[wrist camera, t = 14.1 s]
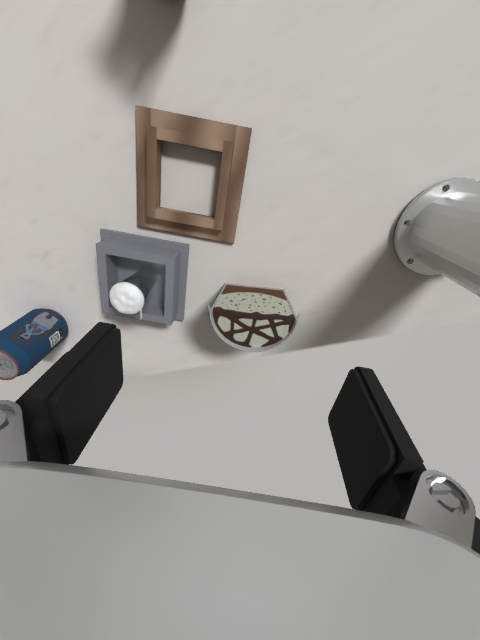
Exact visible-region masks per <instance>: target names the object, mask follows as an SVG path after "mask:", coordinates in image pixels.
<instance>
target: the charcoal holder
mask: <svg viewBox="0 0 480 640" xmlns="http://www.w3.org/2000/svg"><path fill="white" fill-rule="evenodd" d="M100 233H101V242H98V243H96V252H97V262H98V273H99V284H100V295H101V306H102V313H106V314H111V315H117V316H123V317H129V318H134V319H140V311H139V312H137V313H135V314H124V313H121V312H119V311H118V310H117V309H116V308H114V307H113V305H112V304H111V302H110V290H111V288H112V287H113V286H114V285H115V284H117V283H118V282H120V281H122V280H124V279H126V278H128V277H129V276H131V275H132V274H134V273H136V272H137V271H139V270H140V269H142V268H144V267H145V268H151V269H152V270H153V271H155V272H156V274H157V277H158V280H157V284H156V286H155V287H154V289H153V290H152V292H151V294H150V295H149V297H148V298H147V300H146V302H145V304H144V306H143V308H142V319H141V320H146V321H152V322H157V323H163V324H169V325H172V323H173V321H174V319H175V320H181V321H183V319H184V308H185V295H186V282H187V269H188V256H189V244H184V243H178V242H173V241H167V240H162V239H157V238H151V237H146V236H140V235H135V234H129V233H124V232H118V231H113V230H108V229H100Z"/></svg>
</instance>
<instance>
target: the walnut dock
mask: <svg viewBox="0 0 480 640" xmlns="http://www.w3.org/2000/svg"><path fill="white" fill-rule="evenodd" d="M251 130H252V128H247V127H242V126H237V125H232V124H227V123H222V122H217V121H212V120H207V119H202V118H197V117H192V116H187V115H182V114H177V113H172V112H167V111H162V110H157V109H152V108H147V107H142V106H137V105H136V154H137V218H138V226H142V227H147V228H152V229H158V230H163V231H169V232H174V233H179V234H185V235H190V236H196V237H201V238H206V239H212V240H217V241H223V242H228V243H234V239H235V232H236V226H237V219H238V213H239V207H240V200H241V194H242V187H243V181H244V175H245V168H246V162H247V156H248V149H249V143H250V136H251ZM162 140H163V141H168V142H173V143H178V144H183V145H188V146H194V147H199V148H204V149H209V150H214V151H219V152H222V159H221V167H220V176H219V185H218V193H217V202H216V210H215V217H210V216H205V215H200V214H194V213H189V212H184V211H178V210H173V209H168V208H162V207H160V192H161V148H162Z"/></svg>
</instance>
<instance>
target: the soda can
mask: <svg viewBox="0 0 480 640" xmlns="http://www.w3.org/2000/svg"><path fill="white" fill-rule="evenodd" d="M67 329H68V326H67V322H66V320H65V319H64V317H63V316H62V315H60V314H59V313H58V312H56V311H54V310H51V309H34V310H32V311H30V312H29V313H27V314H26V315H24V316H23V317H21V318H20V319H18V320H17V321H15V322H13V323H12V324H10V325H9V326H7V327H6V328H4V329H3V330H1V331H0V379H1V380H11V379H14V378H15V377H17V376H20V375H23V374H26V373H27V372H28V371H30V370H31V369H32V368H33V367H34V366H35V365H36V364H37V363H38V362H40V361H41V360H42V359H43V358H44V357H45V356H46V355H47V354H48V353H50V352H51V351H52V350H53V349H54V348H55V347H56V346H57V345H58V344H60V343H61V342H62V341H63V340H64V339H65V338H66V336H67Z"/></svg>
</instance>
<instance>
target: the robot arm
mask: <svg viewBox="0 0 480 640" xmlns="http://www.w3.org/2000/svg"><path fill="white" fill-rule="evenodd" d="M443 186H444V188H443ZM442 188H443V189H442ZM405 221H406V223H405V224H404V222H405ZM394 245H395V251H396V254H397V256H398V258H399V259H400V261H401V262H402V263H403V264H404V265H405V266H406V267H407V268H409V269H411V270H412V271H414V272H417V273H419V274H424V275H439V274H442V275H444V276H446V277H447V278H449V279H451V280H452V281H454V282H456V283H457V284H459V285H461V286H462V287H464V288H466V289H467V290H469V291H471V292H472V293H474V294H476V295H477V296H479V297H480V181H478V180H475V179H469V178H454V179H449V180H444V181H442V182H439V183H437V184H434V185H433V186H431V187H429V188H427V189H426V190H424V191H423V192H422V193H420V194H419V195H418V196H417V197H415V198H414V200H413V201H412V202H411V203H410V204H409V205H408V206H407V208H406V209H405V211H404V212H403V213H402V215H401V217H400V219H399V221H398V223H397V227H396V230H395V236H394ZM408 259H409V260H408ZM407 260H408V261H407ZM122 384H123V367H122V349H121V332H120V329H117V328H116V325H114V324H109V323H104V322H99V323H97V324H96V325H95V326H94V327H93V328H92V329H91V330H90V331H89V332H88V333H87V334H86V335H85V336H84V337H83V338H82V339H81V340H80V341H79V342H78V343H77V344H76V345H75V346H74V347H73V348H72V349H71V350H70V351H68V352H67V353H65V354H64V355H63V356H62V357H61V358H60V359H59V360H58V361H57V362H56V363H55V364H54V365H53V366H52V367H51V368H50V369H49V370H48V371H46V372H45V374H44V375H42V376H41V378H39V379H38V380H37V381H36V382H35V383H34V384H33V385H32V386H31V387H30V388H29V389H28V390H27V391H26V392H25V393H24V394H23V395H22V396H21V397H20V398H19V399H18V400H17V401H16V402H12V401H8V400H0V640H480V520H479V519H478V518H477V517H476V511H475V506H474V503H473V501H472V499H471V497H470V496H469V495H468V493H467V492H466V491H465V489H464V488H463V487H462V486H461V485H460V484H459V483H457V482H456V481H455V480H453V479H452V478H451V477H449V476H447V475H445V474H444V473H442V472H439V471H436V470H426V468H425V466H424V464H423V460H422V458H421V456H420V455H419V453H418V451H417V449H416V447H415V445H414V444H413V442H412V440H411V438H410V436H409V434H408V433H407V431H406V429H405V427H404V425H403V424H402V422H401V420H400V418H399V416H398V415H397V413H396V411H395V409H394V407H393V406H392V404H391V402H390V400H389V398H388V396H387V395H386V393H385V391H384V389H383V387H382V386H381V384H380V382H379V380H378V378H377V376H376V375H375V373H374V371H373V370H372V369H369V368H363V367H356V368H355V369H351V370H350V371H349V373H348V375H347V378H346V380H345V382H344V384H343V386H342V388H341V390H340V393H339V394H338V397H337V399H336V401H335V403H334V405H333V407H332V409H331V411H330V414H329V417H328V422H329V427H330V431H331V434H332V438H333V442H334V446H335V449H336V453H337V457H338V461H339V464H340V468H341V472H342V475H343V479H344V483H345V486H346V490H347V494H348V498H349V502H350V505H351V507H352V508H353V509H348V508H343V507H338V506H331V505H325V504H319V503H313V502H307V501H301V500H295V499H289V498H283V497H276V496H270V495H264V494H258V493H252V492H245V491H239V490H232V489H226V488H220V487H214V486H207V485H201V484H195V483H188V482H182V481H175V480H169V479H162V478H156V477H149V476H142V475H136V474H129V473H122V472H116V471H110V470H103V469H94V468H88V467H80V466H73V465H69V464H74V463H75V462H76V460H77V459H78V457H79V456H80V454H81V452H82V451H83V449H84V448H85V446H86V444H87V443H88V441H89V439H90V438H91V436H92V435H93V433H94V431H95V430H96V428H97V426H98V425H99V423H100V421H101V420H102V418H103V417H104V415H105V413H106V412H107V410H108V409H109V407H110V405H111V404H112V402H113V401H114V399H115V397H116V395H117V394H118V392H119V391H120V389H121V387H122ZM354 509H355V510H354Z"/></svg>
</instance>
